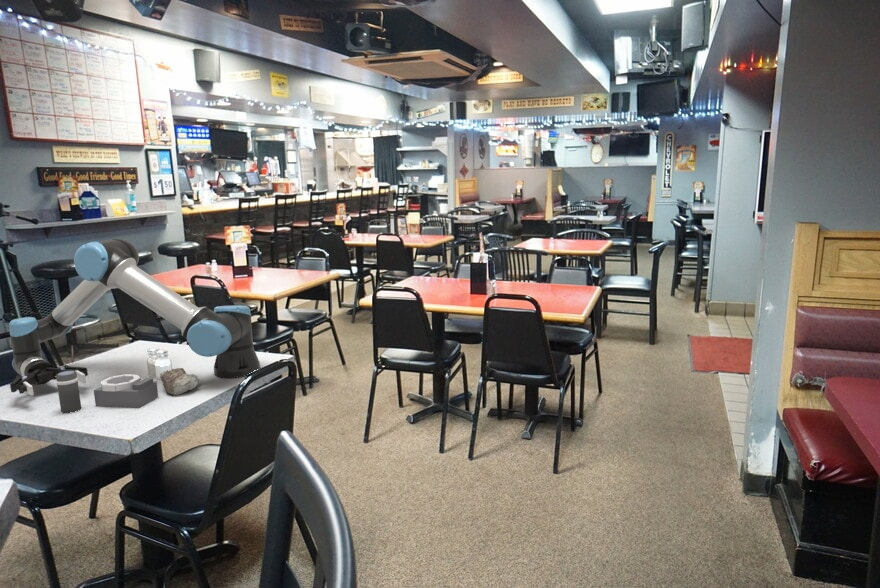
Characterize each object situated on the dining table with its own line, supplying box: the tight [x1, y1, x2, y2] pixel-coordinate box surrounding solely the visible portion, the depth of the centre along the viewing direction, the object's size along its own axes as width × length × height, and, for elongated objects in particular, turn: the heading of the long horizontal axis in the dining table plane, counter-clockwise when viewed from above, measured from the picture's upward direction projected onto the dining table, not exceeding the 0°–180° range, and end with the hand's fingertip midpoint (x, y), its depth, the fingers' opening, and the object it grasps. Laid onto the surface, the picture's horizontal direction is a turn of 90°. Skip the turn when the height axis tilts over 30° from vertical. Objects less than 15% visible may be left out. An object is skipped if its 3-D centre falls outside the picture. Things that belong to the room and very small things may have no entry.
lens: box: [55, 371, 82, 414], centre depth 167 cm, size 5×5×11 cm
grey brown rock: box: [159, 367, 201, 396], centre depth 184 cm, size 14×9×10 cm
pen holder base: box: [93, 373, 159, 409], centre depth 174 cm, size 14×10×7 cm
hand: (58, 384), depth 173 cm, fingers open, 13 cm apart
